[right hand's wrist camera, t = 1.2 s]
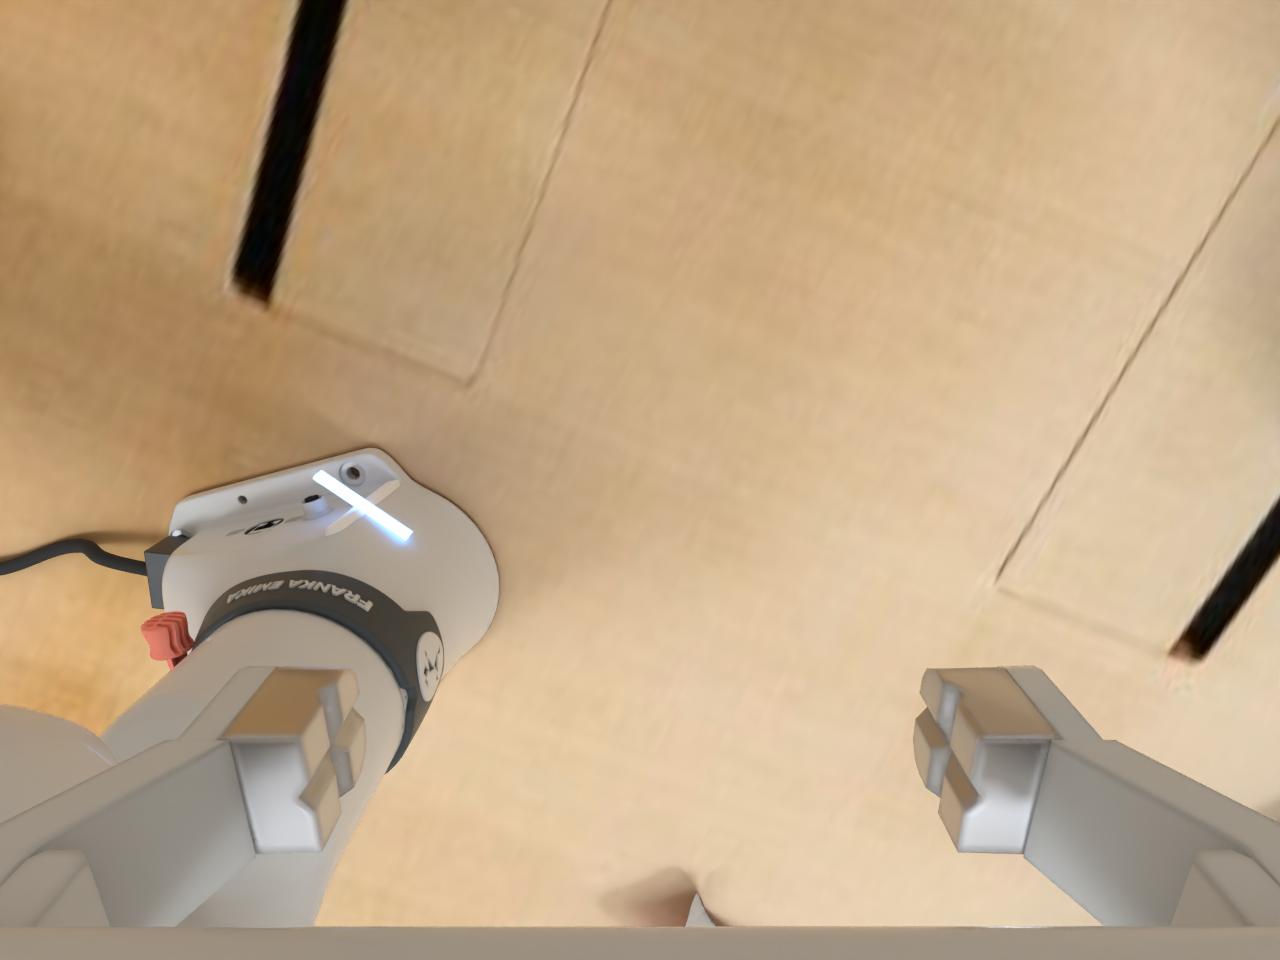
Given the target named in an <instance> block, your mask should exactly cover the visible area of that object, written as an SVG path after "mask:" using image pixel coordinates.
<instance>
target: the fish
mask: <svg viewBox="0 0 1280 960" xmlns="http://www.w3.org/2000/svg"><path fill="white" fill-rule="evenodd" d="M686 926H717V925H716V924H715V923H714V921H713V920H712V919H711V917H710V916H709V915H708V913H707V912H706V911H705V908H704V906H703V903H702V901H701V899H700V897H699V895H698V893H696V894H695V896H694V899H693V901H692V904H691V908H690V911H689V915H688V918H687V922H686V925H685V927H686Z"/></svg>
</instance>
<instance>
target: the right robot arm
mask: <svg viewBox="0 0 1280 960" xmlns="http://www.w3.org/2000/svg"><path fill="white" fill-rule="evenodd" d="M351 467H354V468H356V469H357V470H358V471H359V473H360V476H355V475H354V474H353V473H352V471H351ZM184 535H185V536H187V537H188V538H187V537H184ZM67 553H84V554H85V555H86V556H87V557H88V558H89V559H90V560H92V561H93V562H95V563H97V564H100V565H102V566H105V567H109V568H112V569H116V570H120V571H125V572H130V573H134V574H139V575H144V576H148V583H149V590H150V597H151V604H152V608H157V609H164V610H165V613H163V614H160V615H158V616H154V617H152V618H151V619H150V620H147V621H146V622H144V624H143V625H142V626H141V628H142V629H141V630H142V633H143V635H144V637H145V639H146V640H147V642H148V643H149V645H150V649H151V651H150V656H151V658H153V659H154V660H161V661H162V660H167V662H168V665H169V668H170V671H169V672H168V673H167V674H166V675H165V676H164V677H163V678H162V679H160V680H159V681H158V682H157V683H156V684H155V685H154V686H153V687H152V688H150V689H149V690H148V691H147V692H146V693H145V694H144V695H143V696H142V697H140V698H139V699H138V700H137V701H136V702H135V703H134V704H133V705H132V706H130V707H129V708H128V709H127V710H126V711H125V712H124V713H122V714H121V715H120V716H119V717H118V718H116V719H115V720H114V721H113V722H112V723H111V724H110V725H109V726H108V727H107V728H106V729H105V730H104V732H103V733H102V734H101V735H100V737H98V736H97V735H95V734H94V733H93V732H91V731H90V730H88V729H87V728H85V727H83V726H81V725H79V724H77V723H76V722H73V721H71V720H68V719H66V718H63V717H60V716H57V715H53V714H50V713H46V712H42V711H38V710H34V709H30V708H26V707H20V706H13V705H6V704H0V960H1280V823H1278V822H1276V821H1274V820H1272V819H1270V818H1268V817H1266V816H1264V815H1262V814H1260V813H1258V812H1256V811H1254V810H1252V809H1250V808H1248V807H1246V806H1244V805H1242V804H1240V803H1238V802H1236V801H1234V800H1232V799H1230V798H1228V797H1226V796H1224V795H1222V794H1220V793H1218V792H1216V791H1214V790H1213V789H1211V788H1209V787H1207V786H1205V785H1203V784H1201V783H1199V782H1197V781H1195V780H1193V779H1191V778H1189V777H1187V776H1185V775H1183V774H1181V773H1179V772H1177V771H1175V770H1173V769H1171V768H1169V767H1167V766H1165V765H1163V764H1161V763H1159V762H1157V761H1155V760H1153V759H1151V758H1149V757H1147V756H1146V755H1144V754H1142V753H1140V752H1138V751H1136V750H1134V749H1132V748H1130V747H1128V746H1126V745H1124V744H1122V743H1120V742H1118V741H1116V740H1103V739H1102V738H1101V737H1100V735H1099V734H1098V733H1097V732H1096V731H1095V730H1094V729H1093V727H1092V726H1091V725H1090V724H1089V723H1088V722H1087V721H1086V719H1085V718H1084V717H1083V716H1082V715H1081V714H1080V713H1079V711H1078V710H1077V709H1076V708H1075V707H1074V706H1073V705H1072V704H1071V702H1070V701H1069V700H1068V699H1067V698H1066V697H1065V696H1064V694H1063V693H1062V692H1061V691H1060V690H1059V689H1058V688H1057V686H1056V685H1055V684H1054V683H1053V682H1052V681H1051V680H1050V678H1049V677H1048V676H1047V675H1046V674H1045V673H1044V672H1043V670H1041V669H1039V668H1037V667H1035V666H1003V667H992V668H927V669H926V671H925V673H924V675H923V677H922V682H921V688H920V694H921V696H922V698H923V700H924V702H925V703H926V705H927V708H926V709H925V710H924V711H923V712H922V713H921V714H920V715H919V716H918V717H917V718H916V719H915V728H914V736H913V743H914V754H915V761H916V764H917V768H918V771H919V774H920V776H921V778H922V781H923V783H924V785H925V787H926V788H927V789H929V790H930V791H931V792H933V793H934V794H936V795H937V796H938V797H940V804H939V810H938V813H939V815H940V817H941V819H942V821H943V823H944V825H945V827H946V829H947V831H948V833H949V835H950V837H951V839H952V841H953V843H954V845H955V847H956V849H957V851H958V852H964V853H1000V854H1024V856H1023V857H1024V858H1025V859H1026V860H1027V861H1028V862H1030V863H1031V864H1032V865H1033V866H1034V867H1035V868H1037V869H1038V870H1039V871H1040V872H1041V873H1043V874H1044V875H1045V876H1046V877H1047V878H1048V879H1050V880H1051V881H1052V882H1053V883H1054V884H1056V885H1057V886H1058V887H1059V888H1060V889H1061V890H1063V891H1064V892H1065V893H1066V894H1067V895H1069V896H1070V897H1071V898H1072V899H1073V900H1074V901H1076V902H1077V903H1078V904H1079V905H1080V906H1081V907H1083V908H1084V909H1085V910H1086V911H1087V912H1089V913H1090V914H1091V915H1092V916H1093V917H1094V918H1096V919H1097V920H1098V921H1099V922H1100V923H1102V924H1103V925H1104V926H1078V927H838V926H686V927H314V924H315V921H316V918H317V916H318V913H319V910H320V907H321V905H322V902H323V899H324V897H325V894H326V892H327V889H328V887H329V884H330V882H331V880H332V877H333V875H334V873H335V871H336V869H337V866H338V864H339V862H340V860H341V858H342V856H343V854H344V851H345V849H346V847H347V845H348V843H349V842H350V840H351V838H352V836H353V834H354V832H355V830H356V828H357V826H358V824H359V822H360V820H361V819H362V817H363V815H364V813H365V811H366V809H367V807H368V805H369V803H370V801H371V799H372V797H373V796H374V794H375V792H376V790H377V788H378V786H379V784H380V782H381V780H382V778H383V776H384V775H385V774H386V773H388V772H389V771H390V770H391V769H392V768H393V767H394V766H395V765H396V764H397V762H398V761H399V760H400V759H401V757H402V756H403V754H404V752H405V751H406V749H407V747H408V745H409V744H410V742H411V740H412V739H413V737H414V735H415V733H416V731H417V730H418V728H419V726H420V724H421V722H422V720H423V719H424V717H425V715H426V713H427V711H428V709H429V707H430V704H431V702H432V700H433V698H434V695H435V693H436V690H437V688H438V685H439V682H440V680H441V679H442V678H443V677H444V675H445V674H446V673H447V672H448V671H449V670H450V669H451V667H452V666H453V665H454V664H455V663H456V662H457V661H458V660H459V659H460V658H461V657H462V656H463V655H464V654H465V653H466V652H468V651H469V650H470V649H471V648H472V647H473V646H474V645H475V644H477V642H478V641H479V640H480V639H481V638H482V637H483V635H484V634H485V633H486V631H487V630H488V628H489V626H490V625H491V623H492V621H493V618H494V616H495V613H496V610H497V605H498V600H499V575H498V570H497V566H496V562H495V559H494V556H493V553H492V551H491V549H490V547H489V545H488V543H487V541H486V539H485V538H484V536H483V535H482V533H481V532H480V530H479V529H478V528H477V526H476V525H475V524H474V523H473V522H472V521H471V519H470V518H469V517H468V516H467V515H466V514H465V513H463V512H462V511H461V510H460V509H459V508H458V507H456V506H455V505H454V504H452V503H451V502H449V501H448V500H446V499H445V498H443V497H441V496H440V495H438V494H436V493H434V492H432V491H430V490H428V489H426V488H424V487H422V486H421V485H419V484H417V483H416V482H414V481H413V480H412V479H410V477H409V476H408V475H407V474H406V473H405V472H404V471H403V469H402V468H401V467H400V466H399V465H398V464H397V463H396V462H395V461H394V460H393V459H392V458H391V457H390V456H389V455H388V454H386V453H385V452H383V451H382V450H380V449H377V448H365V449H361V450H357V451H353V452H350V453H346V454H342V455H338V456H335V457H331V458H327V459H323V460H320V461H316V462H312V463H308V464H305V465H301V466H297V467H293V468H290V469H286V470H282V471H278V472H275V473H271V474H267V475H263V476H260V477H256V478H252V479H248V480H245V481H241V482H237V483H233V484H230V485H226V486H222V487H218V488H215V489H211V490H207V491H204V492H200V493H196V494H193V495H190V496H188V497H185V498H184V499H183V500H181V501H180V502H179V503H178V504H177V505H176V506H175V509H174V511H173V514H172V517H171V521H170V526H169V534H168V537H167V538H165V539H163V540H162V541H160V542H159V543H157V544H155V545H154V546H152V547H151V548H149V549H147V550H146V551H144V555H145V562H143V561H138V560H133V559H129V558H124V557H120V556H117V555H114V554H111V553H108V552H105V551H104V550H102V549H101V548H100V547H99V546H98V545H97V544H95V543H94V542H91V541H88V540H82V539H74V540H66V541H61V542H57V543H54V544H51V545H48V546H46V547H43V548H40V549H38V550H36V551H33V552H31V553H28V554H26V555H23V556H21V557H18V558H15V559H12V560H8V561H4V562H0V575H5V574H9V573H13V572H16V571H19V570H22V569H25V568H27V567H30V566H32V565H35V564H37V563H40V562H42V561H45V560H47V559H50V558H52V557H56V556H59V555H63V554H67Z"/></svg>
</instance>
